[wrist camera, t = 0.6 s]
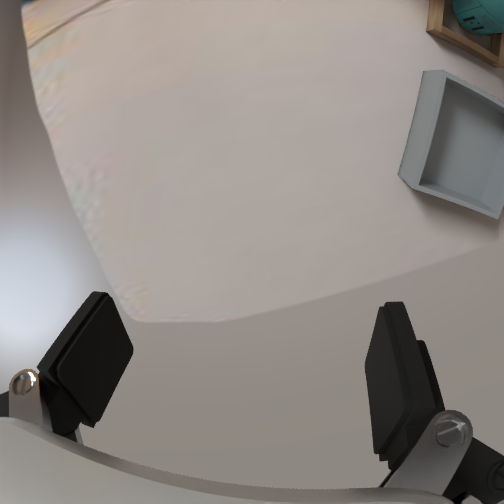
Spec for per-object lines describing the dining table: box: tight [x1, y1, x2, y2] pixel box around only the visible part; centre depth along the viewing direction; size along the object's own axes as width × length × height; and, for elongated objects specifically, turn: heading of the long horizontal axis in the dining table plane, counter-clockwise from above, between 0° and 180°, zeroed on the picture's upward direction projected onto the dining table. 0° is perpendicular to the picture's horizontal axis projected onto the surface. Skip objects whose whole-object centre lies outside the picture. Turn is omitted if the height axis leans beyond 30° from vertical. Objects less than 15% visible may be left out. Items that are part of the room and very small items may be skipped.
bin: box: [398, 70, 504, 219], centre depth 29 cm, size 14×14×6 cm
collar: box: [426, 0, 504, 67], centre depth 21 cm, size 11×11×2 cm
